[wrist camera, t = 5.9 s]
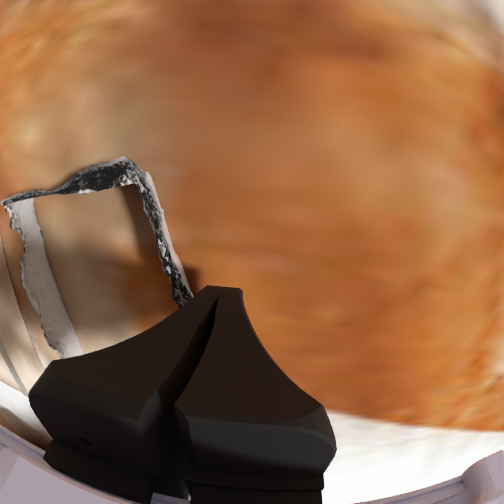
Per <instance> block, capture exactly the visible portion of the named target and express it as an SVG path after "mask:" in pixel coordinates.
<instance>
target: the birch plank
mask: <svg viewBox="0 0 504 504" xmlns="http://www.w3.org/2000/svg"><path fill="white" fill-rule="evenodd" d="M44 371H45V370H44V368H43V366H42V364H41V362H40V359H39V357H38V355H37V353H36V350H35V348H34V346H33V343H32V341H31V338H30V336H29V333H28V331H27V328H26V325H25V323H24V320H23V317H22V314H21V311H20V309H19V306H18V302H17V299H16V296H15V293H14V290H13V286H12V283H11V279H10V275H9V272H8V268H7V264H6V259H5V255H4V250H3V246H2V241H1V236H0V381H2V382H3V383H5V384H7V385H9V386H11V387H12V388H14V389H16V390H18V391H20V392H22V393H23V394H24V395H25V396H27V397H28V394H29V391H30V389H31V388H32V387H33V385H34V384H35V383H36V381H37V380H38V379H39V377H40V376H41V375H42V373H43V372H44Z"/></svg>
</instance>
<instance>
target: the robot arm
mask: <svg viewBox="0 0 504 504" xmlns="http://www.w3.org/2000/svg"><path fill="white" fill-rule="evenodd" d="M28 398H29V402H30V406H31V408H32V409H33V411H34V413H35V415H36V416H37V418H38V419H39V420H40V422H41V423H42V425H43V426H44V427H45V429H46V430H47V432H48V433H49V434H50V436H51V437H52V438H53V439H52V441H51V443H50V445H49V447H48V449H47V450H46V451H44V450H42V449H40V448H38V447H37V446H35V445H33V444H31V443H30V442H28V441H26V440H24V439H23V438H21V437H19V436H18V435H16V434H15V433H13V432H11V431H10V430H8V429H7V428H5V427H4V426H2V425H1V424H0V504H322V493H321V490H323V489H324V478H323V473H324V472H325V470H326V469H327V467H328V466H329V464H330V463H331V461H332V460H333V458H334V456H335V453H336V450H337V448H336V440H335V436H334V432H333V429H332V426H331V423H330V420H329V418H328V416H327V413H326V411H325V409H324V406H323V405H322V404H320V403H319V402H318V401H316V400H315V399H314V398H312V397H311V396H310V395H308V394H307V393H306V392H304V391H303V390H302V389H300V388H299V387H298V386H297V385H296V384H295V383H294V382H293V381H292V380H290V379H289V377H288V376H287V375H286V374H285V373H284V372H283V371H282V370H281V369H280V368H279V366H278V365H277V364H276V363H275V362H274V361H273V359H272V358H271V357H270V355H269V354H268V353H267V351H266V350H265V348H264V347H263V345H262V344H261V342H260V340H259V338H258V337H257V335H256V333H255V331H254V329H253V327H252V325H251V323H250V320H249V318H248V315H247V312H246V310H245V306H244V302H243V291H242V290H241V289H240V288H231V287H220V286H209V285H207V286H206V287H204V288H203V289H202V290H201V291H200V292H198V293H197V294H196V295H195V296H194V297H193V298H191V299H190V300H189V301H188V302H187V303H185V304H184V305H183V306H182V307H180V308H179V309H178V310H177V311H175V312H174V313H173V314H171V315H170V316H168V317H167V318H165V319H164V320H163V321H161V322H160V323H158V324H156V325H155V326H153V327H151V328H150V329H148V330H146V331H144V332H142V333H140V334H138V335H136V336H134V337H132V338H130V339H127V340H125V341H123V342H120V343H118V344H116V345H113V346H110V347H107V348H104V349H101V350H98V351H95V352H91V353H88V354H84V355H80V356H75V357H70V358H64V359H59V360H53V361H52V362H51V363H50V364H49V365H48V367H47V368H46V369H45V371H44V372H43V373H42V375H41V376H40V377H39V379H38V380H37V381H36V383H35V384H34V385H33V387H32V388H31V389H30V391H29V394H28ZM355 504H504V451H503V450H500V451H498V452H496V453H494V454H492V455H490V456H488V457H485V458H483V459H481V460H479V461H477V462H476V463H474V464H473V465H472V466H470V467H469V468H468V469H467V470H466V471H465V472H464V473H463V474H462V475H461V476H459V477H456V478H453V479H451V480H448V481H445V482H442V483H439V484H436V485H433V486H430V487H427V488H423V489H420V490H416V491H413V492H409V493H405V494H401V495H397V496H393V497H388V498H383V499H378V500H373V501H367V502H361V503H355Z"/></svg>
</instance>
